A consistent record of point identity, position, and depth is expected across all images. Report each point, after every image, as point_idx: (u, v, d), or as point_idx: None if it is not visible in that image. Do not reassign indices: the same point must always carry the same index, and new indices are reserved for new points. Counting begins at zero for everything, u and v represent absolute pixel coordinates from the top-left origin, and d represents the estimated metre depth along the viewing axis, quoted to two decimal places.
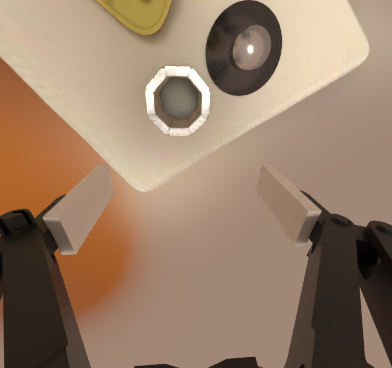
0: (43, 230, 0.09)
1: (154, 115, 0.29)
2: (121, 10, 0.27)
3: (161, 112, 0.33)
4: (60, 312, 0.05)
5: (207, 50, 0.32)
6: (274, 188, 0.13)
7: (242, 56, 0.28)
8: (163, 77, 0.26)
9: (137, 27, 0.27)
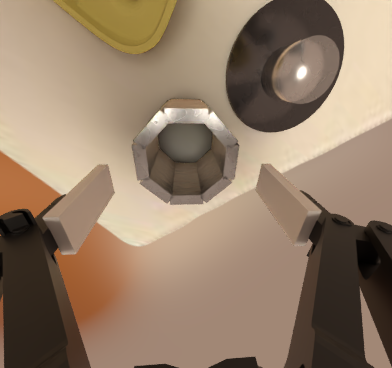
0: (43, 230, 0.09)
1: (148, 179, 0.18)
2: (92, 12, 0.16)
3: (160, 161, 0.23)
4: (60, 312, 0.05)
5: (229, 71, 0.21)
6: (273, 188, 0.13)
7: (290, 85, 0.17)
8: (162, 126, 0.15)
9: (119, 41, 0.16)
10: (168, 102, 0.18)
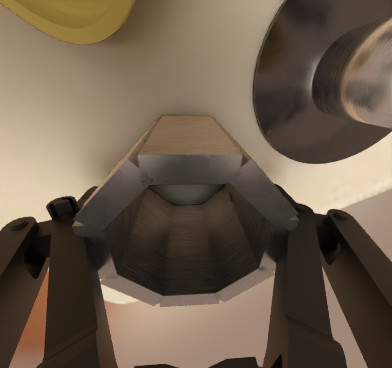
0: None
1: (116, 277, 0.09)
2: None
3: (145, 216, 0.14)
4: (93, 296, 0.06)
5: (261, 70, 0.12)
6: None
7: None
8: (136, 190, 0.07)
9: (50, 18, 0.08)
10: (155, 127, 0.10)
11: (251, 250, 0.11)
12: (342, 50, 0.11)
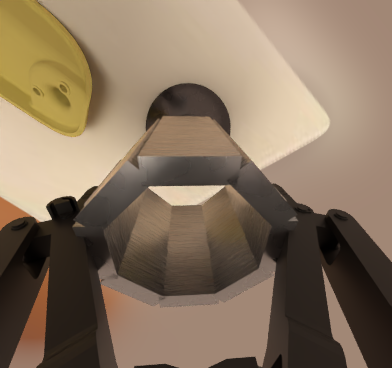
0: None
1: (116, 278, 0.09)
2: (41, 110, 0.25)
3: (145, 216, 0.14)
4: (93, 296, 0.06)
5: None
6: None
7: None
8: (136, 191, 0.07)
9: (59, 128, 0.25)
10: (155, 128, 0.10)
11: (251, 251, 0.11)
12: None
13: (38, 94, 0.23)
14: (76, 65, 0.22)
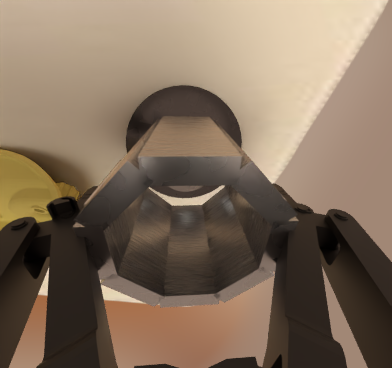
0: None
1: (116, 278, 0.09)
2: None
3: (145, 216, 0.14)
4: (93, 296, 0.06)
5: None
6: None
7: None
8: (136, 192, 0.07)
9: None
10: (155, 128, 0.10)
11: (251, 251, 0.11)
12: None
13: None
14: (36, 179, 0.19)
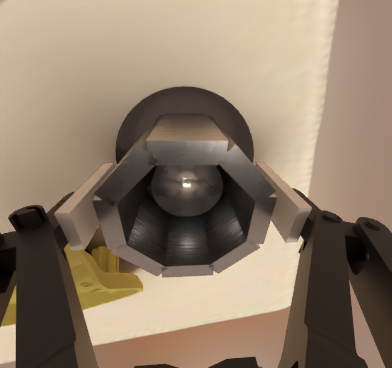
0: (54, 226, 0.09)
1: (125, 248, 0.11)
2: (115, 289, 0.25)
3: (149, 202, 0.16)
4: (69, 307, 0.05)
5: None
6: None
7: (193, 207, 0.15)
8: (144, 170, 0.08)
9: (133, 291, 0.23)
10: (159, 121, 0.12)
11: (240, 228, 0.12)
12: None
13: (98, 290, 0.23)
14: (74, 257, 0.20)
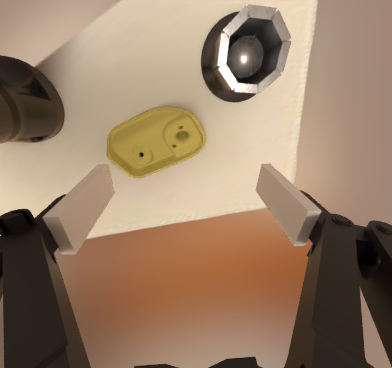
0: (43, 230, 0.09)
1: (225, 65, 0.26)
2: (182, 154, 0.39)
3: None
4: (60, 312, 0.05)
5: (220, 97, 0.36)
6: (273, 188, 0.13)
7: (246, 71, 0.30)
8: (244, 19, 0.23)
9: (195, 151, 0.38)
10: None
11: (272, 69, 0.27)
12: None
13: (175, 147, 0.37)
14: (172, 114, 0.34)
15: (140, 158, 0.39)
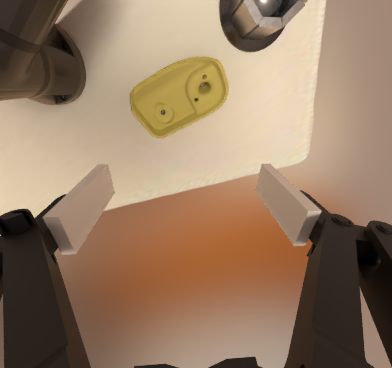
0: (43, 230, 0.09)
1: None
2: (203, 110, 0.40)
3: None
4: (60, 312, 0.05)
5: (239, 46, 0.36)
6: (273, 188, 0.13)
7: (267, 9, 0.30)
8: None
9: (217, 105, 0.39)
10: None
11: (295, 2, 0.28)
12: None
13: (197, 101, 0.38)
14: (194, 64, 0.35)
15: (162, 116, 0.40)
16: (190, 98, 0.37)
